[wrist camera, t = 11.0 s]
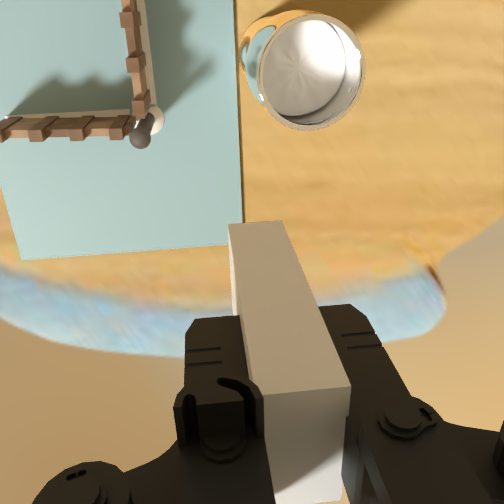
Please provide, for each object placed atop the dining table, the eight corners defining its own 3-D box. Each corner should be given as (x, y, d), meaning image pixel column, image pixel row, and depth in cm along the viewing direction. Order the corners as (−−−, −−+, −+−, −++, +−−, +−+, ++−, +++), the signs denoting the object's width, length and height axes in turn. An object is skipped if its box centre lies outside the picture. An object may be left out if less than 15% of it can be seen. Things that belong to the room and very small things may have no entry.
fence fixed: (118, -39, 37) (99, -51, 30) (138, -39, 37) (125, -51, 30) (140, 127, 43) (129, 152, 36) (158, 126, 43) (151, 150, 36)
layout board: (-65, -50, 36) (-68, -51, 35) (230, -57, 37) (230, -57, 37) (22, 258, 47) (21, 260, 47) (243, 241, 49) (243, 243, 49)
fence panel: (135, 114, 42) (128, 128, 37) (136, 125, 42) (129, 140, 37) (3, 116, 41) (-22, 131, 36) (6, 127, 41) (-19, 143, 36)
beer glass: (230, 11, 40) (250, 13, 26) (313, 7, 40) (372, 5, 27) (236, 98, 43) (256, 139, 30) (312, 92, 43) (366, 130, 30)
